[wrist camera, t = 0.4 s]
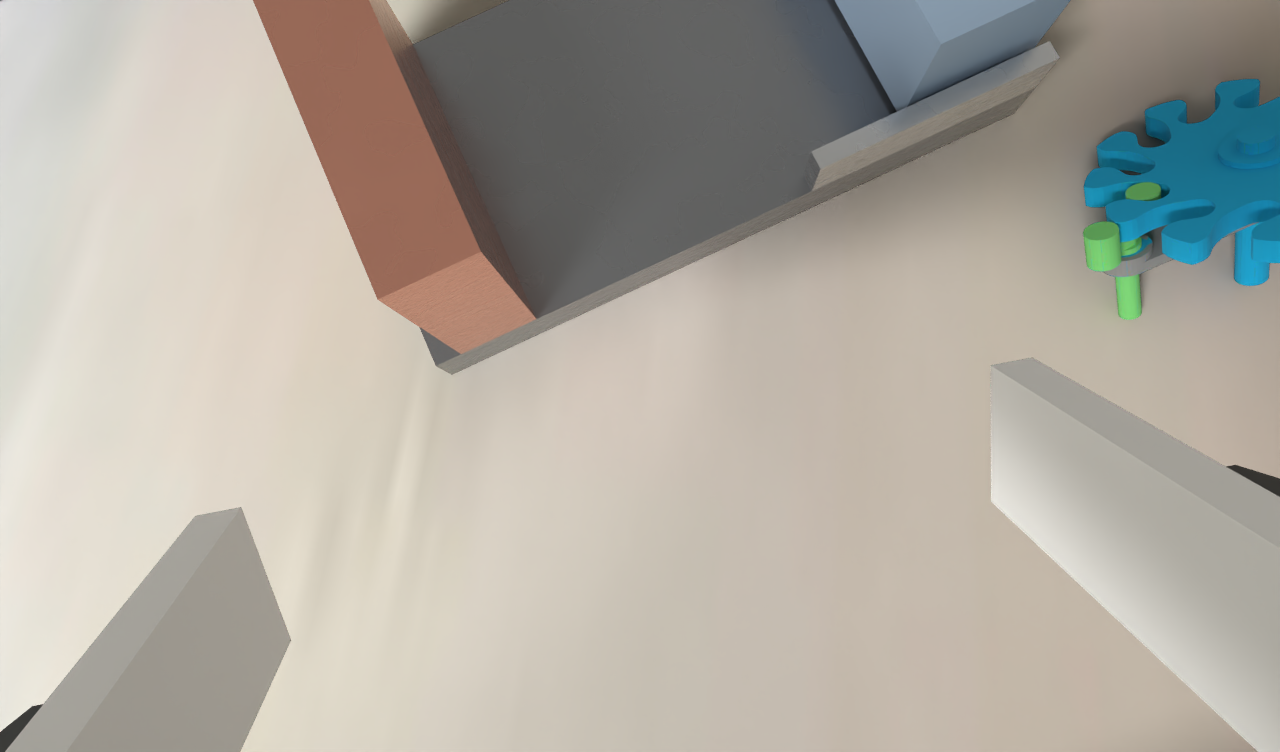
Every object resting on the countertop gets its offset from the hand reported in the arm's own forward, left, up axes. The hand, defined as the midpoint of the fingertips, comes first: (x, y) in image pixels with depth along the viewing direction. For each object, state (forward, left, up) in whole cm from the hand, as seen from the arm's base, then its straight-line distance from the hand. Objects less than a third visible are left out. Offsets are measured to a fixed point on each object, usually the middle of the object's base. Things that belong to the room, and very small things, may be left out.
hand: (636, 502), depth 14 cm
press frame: (+14, -7, -16) cm, 22 cm away
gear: (+2, -22, -16) cm, 28 cm away
